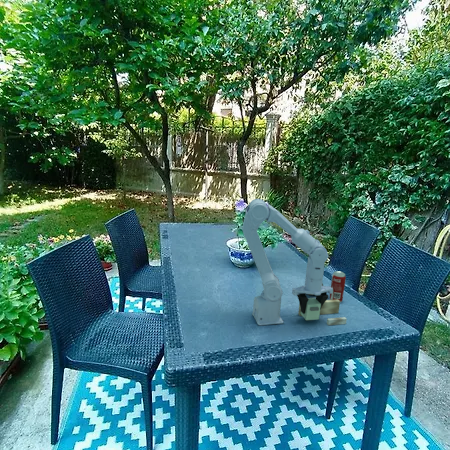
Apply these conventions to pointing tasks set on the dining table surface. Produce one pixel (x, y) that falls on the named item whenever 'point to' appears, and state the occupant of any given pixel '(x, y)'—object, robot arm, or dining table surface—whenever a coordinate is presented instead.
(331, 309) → the wall board
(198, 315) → the dining table surface
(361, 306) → the dining table surface
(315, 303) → the cabinet block
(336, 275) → the soda can
